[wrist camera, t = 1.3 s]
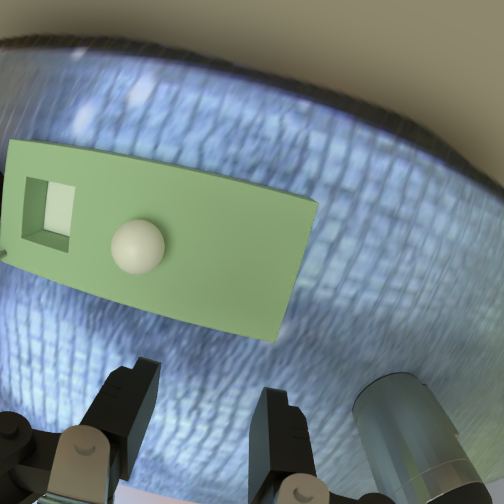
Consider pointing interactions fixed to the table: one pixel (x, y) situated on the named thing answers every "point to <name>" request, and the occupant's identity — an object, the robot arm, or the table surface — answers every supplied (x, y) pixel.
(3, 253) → the pin
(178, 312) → the green
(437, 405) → the robot arm
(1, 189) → the coffee mug
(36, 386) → the table surface
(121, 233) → the ball
